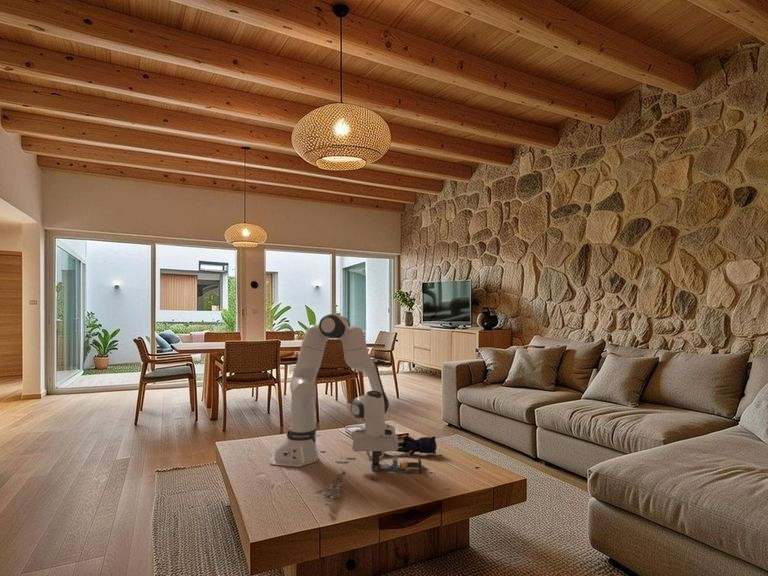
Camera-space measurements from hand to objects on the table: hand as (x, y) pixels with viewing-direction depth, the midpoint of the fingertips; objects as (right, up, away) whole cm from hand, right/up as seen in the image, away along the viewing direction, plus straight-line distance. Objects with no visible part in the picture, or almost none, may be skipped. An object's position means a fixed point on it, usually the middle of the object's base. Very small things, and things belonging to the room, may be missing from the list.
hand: (375, 460), depth 199 cm
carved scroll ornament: (-15, -4, -26) cm, 31 cm away
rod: (+3, -4, 0) cm, 5 cm away
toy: (+14, -5, +18) cm, 23 cm away
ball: (+12, -2, 0) cm, 12 cm away
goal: (+16, -4, 0) cm, 16 cm away
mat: (+14, -4, 0) cm, 15 cm away
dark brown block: (0, -4, 0) cm, 4 cm away
